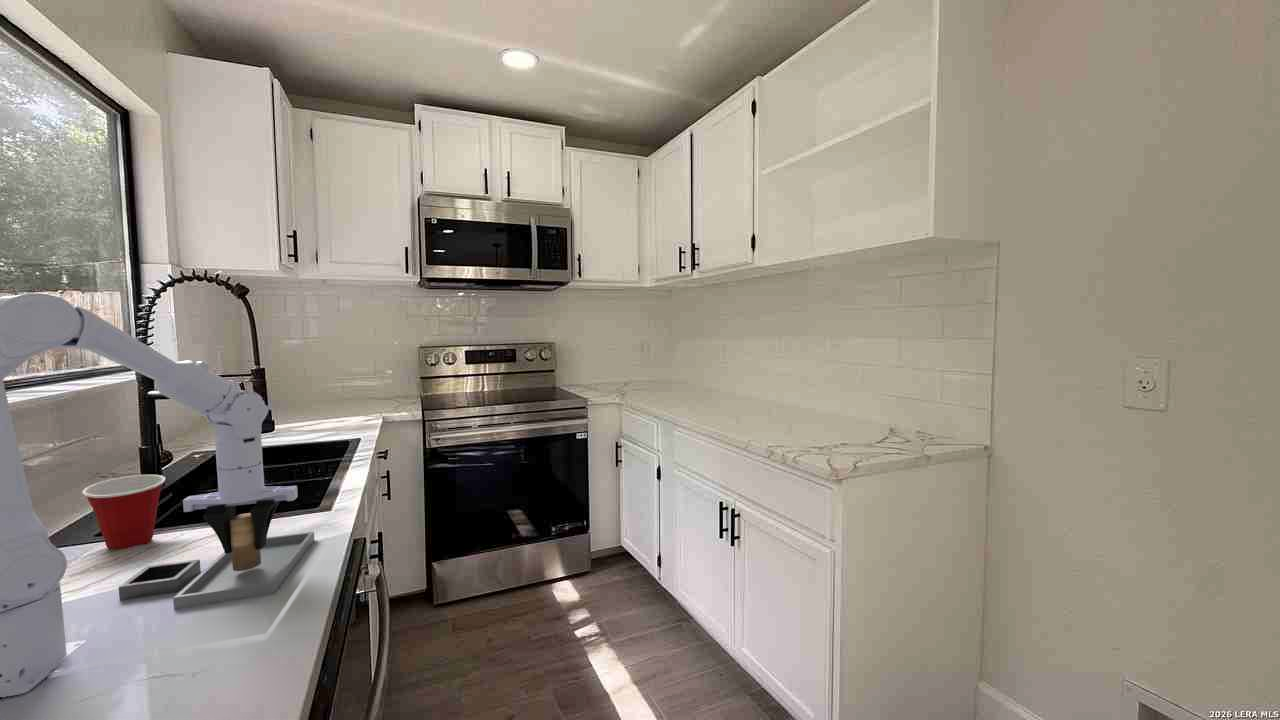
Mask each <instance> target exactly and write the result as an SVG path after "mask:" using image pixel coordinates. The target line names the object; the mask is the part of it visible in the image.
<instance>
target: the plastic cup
mask: <svg viewBox="0 0 1280 720" xmlns="http://www.w3.org/2000/svg"><path fill="white" fill-rule="evenodd" d="M165 481H166V476H164V475H162V474H161V475H160V474H136V475H135V474H134V475H127V476H122V477H117V478H112V479H111V478H110V479H107V480H103V481H99V482H96V483H94V484H91V485H89V486H86V487H85V488H84V489H82V491H81V493H82V495H83V496H85V498H87V500H88V502H89V504H90V507H91V508H92V511H93V513H94V516H95V519H96V523H97V525H98V527H99V531H100V534H101V535H102V537H103V541H104V543H105V546H106V548H107V550H119V549H120V550H121V549H123V550H124V549H126V548H127V549H128V548H132V547H137V546H144V545H148V544H150V543H151V542H153V541H152V540H153V537H154V531H155V524H156V521H157V513H158V507H159V499H160V495H161V492H162V491H161V490H162V488H163V487H162V486H163V484H164V483H165Z"/></svg>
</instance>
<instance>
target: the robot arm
mask: <svg viewBox="0 0 1280 720" xmlns="http://www.w3.org/2000/svg"><path fill="white" fill-rule="evenodd" d="M55 348H62V349H72V350H75V349H76V350H85V351H89V352H92V353H94V354H96V355H99V356H101V357H103V358H105V359H107V360H109V361H112V362H114V363H116V364H119V365H120V366H123V367H125V368H128V369H130V370H132V371H134V372H136V373H139V374H141V375H143V376H145V377H146V378H150V379H152V380H154V381H155V385H156V389H157V391H158V393H159V394H160V395H162V396H164V397H166V398H168V399H171V400H172V401H175V402H176V403H178V404H181V405H183V406H185V407H187V408H190V409H191V410H194V411H195V412H198V413H199V414H201V415H203V416H204V418H205V419H206V420H207V421H208V422H209V423H211V424H213V430H214V445H215V458H216V459H215V460H216V473H217V490H218V491H216V492H209V493H203V494H196V495H189V496H186V498H184V499H183V500H182V505H183V506H182V507H183V513H188V512H189V513H190V512H193V511H196V510H204V509H205V510H206V511H205V512H204V514H203V515H202V517H203V520H204V522H206V524H208V525H209V526H210V527H211V529H212V530H213V531H214V533H215V535H216V536H217V538H218V539H219V541H220V544H221V545H222V549H223V553H224V552H225V554H227V553H231V552H232V551H231V537H230V522H229V519H230V518H232V517H234V516H236V509H237V506H243V505H244V506H245V505H252V504H254V505H253V507H252V508H250V509H249V513H251V516H252V520H253V524H254V530H255V547H256V550H258V549H262V548H263V547H264V546H265V545H266V538H267V537H268V532H269V528H270V525H271V522H272V520H273V516H274V514H275V512H276V510H277V508H278V506H279V504H280V502H282V501H286V502H293V501H296V499H297V498H298V486H297V485H290V486H289V485H287V486H283V485H282V486H281V485H279V486H265V475H264V461H263V458H264V457H263V445H262V443H263V442H262V432H263V429H262V425H263V421H265V419H266V417H267V415H268V414H269V410H270V409H269V405H266V403H265V400H263V399H264V398H263V397H262V396H261V395H260V394H258V393H257V392H256V391H252V390H246V389H245V390H243V389H242V390H240V388H239V385H240V384H239V383H238V382H237V381H235V380H232V379H231V380H230V379H229V380H227V379H225V378H224V377H222V376H220V375H218V374H216V373H215V372H213V371H211V370H209V369H210V367H211V366H210V365H209V364H208V363H206V362H204V361H196V362H195V361H193V360H182V361H173V360H172V359H170V358H168V357H167V356H165V355H163V354H162V353H160V352H159V351H157V350H155V349H154V348H152V347H150V346H148V345H147V344H146V343H144V342H142V341H140V340H139V339H137V338H135V337H134V336H131V335H130V334H128V333H127V332H126V331H123V330H121V329H120V328H118V327H117V326H114V325H113V324H112V323H110V322H108V321H107V320H104V319H103V318H102V317H100V316H99V315H97V314H96V313H94V312H92V311H90V310H88V309H85V308H83V307H80V306H74V305H73V304H72V303H71V302H69V301H68V300H66V299H64V298H62V297H61V296H58V295H54V294H51V293H47V292H28V293H22V294H19V295H3V294H2V295H0V697H2V698H7V696H8V697H12V696H18V695H23V694H25V693H28V692H30V691H31V690H32V689H33V688H34V687H36V686H37V685H38V684H39V683H41V682H42V681H43V680H45V679H46V678H47V677H48V676H49V675H51V674H52V673H53V672H55V670H56V669H54V668H56V667H58V665H59V664H60V663H62V662H63V661H64V660H66V659H67V658H68V657H69V656H70V655H72V654H73V653H75V651H76V650H78V649H79V648H80V647H82V646H84V644H85V643H86V642H87V640H86V639H85V640H76V641H72V642H71V641H70V642H66V633H65V620H64V613H63V612H64V609H63V601H62V589H61V588H62V587H61V580H62V579H63V577H64V576H65V573H66V571H67V567H68V561H67V557H66V555H65V553H64V552H63V551H62V550H60V548H58V547H56V546H55V545H54V544H53V543H52V542H51V540H50V538H49V533H48V531H47V528H46V527H45V526H44V524H43V522H42V521H41V520H40V518H39V517H38V515H37V514H36V513H35V511H34V506H33V504H32V502H33V501H32V498H31V494H30V490H29V489H30V488H29V485H28V481H27V476H26V474H25V468H24V464H23V459H22V455H21V450H20V447H19V444H18V440H17V434H16V431H15V427H14V421H13V417H12V414H11V410H10V404H9V401H8V396H7V392H6V388H5V383H4V379H5V378H7V377H8V376H9V375H10V374H12V373H13V372H14V371H15V370H17V369H18V368H19V367H21V366H22V365H23V364H24V363H25V362H27V361H29V360H30V358H32V357H35V356H38V355H40V354H43V353H45V352H48V351H50V350H53V349H55ZM255 504H256V505H255Z"/></svg>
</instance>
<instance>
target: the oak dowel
mask: <svg viewBox="0 0 1280 720" xmlns="http://www.w3.org/2000/svg"><path fill="white" fill-rule="evenodd" d="M229 522H230V537H231V551H232V566H233V570H234V571H244V570H249V569H252V568H254V567H257V566H258V565H260V564H261V553H260V549H258V550H256V547H255V530H254V524H253V520H252V516H251V513H250V512H248V513H240V514H237V515H235V516H234V517H232V518H230V519H229Z"/></svg>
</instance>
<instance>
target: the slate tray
mask: <svg viewBox="0 0 1280 720" xmlns="http://www.w3.org/2000/svg"><path fill="white" fill-rule="evenodd" d="M314 542H315V531H309V532H308V531H307V532H302V533H300V532H299V533H292V534H284V535H277V536H270V537H269V536H267V538H266V545H265V546H264V547H263V548H262V549H260V553H261V564H260V565H258V566H257V567H254V568H252V569H249V570H244V571H234V570H233V566H232V552H231V553H227V554H225V552H224V551H223V552H222V553H221V554H220V555H219V556H218V557H217V558H216V559H215V560H213V562H212V563H210V564H209V565H208V566H207V567H206V568H205V569H203V570H202V572H200V573H199V574H198V575H196V576H195V577H194V578H193V579H192V580H191V581H190V582H189V583H187V584H186V585H185V586H184V587H183V588H182V589H181V590H180V591H179V592H177V594H176V595H174V596H173V599H172V600H173V609H174V610H179V609H184V608H192V607H198V606H199V607H200V606H204V605H212V604H217V603H224V602H230V601H237V600H244V599H250V598H257V597H263V596H268V595H274V594H275V595H276V593H277V591H278V590H279V589H280V588H281V586H282V585H283V583H284V582H285V581H286V580H287V578H288V577H289V576H290V574H291V572H292V571H293V570H294V569H295V567H296V566H297V564H298V563H299V562H300V561H301V559H302V558H303V556H304V555H305V554H306V552H307V551H308V550H309V548H310V547H311V546H312V545H313V543H314Z"/></svg>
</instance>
